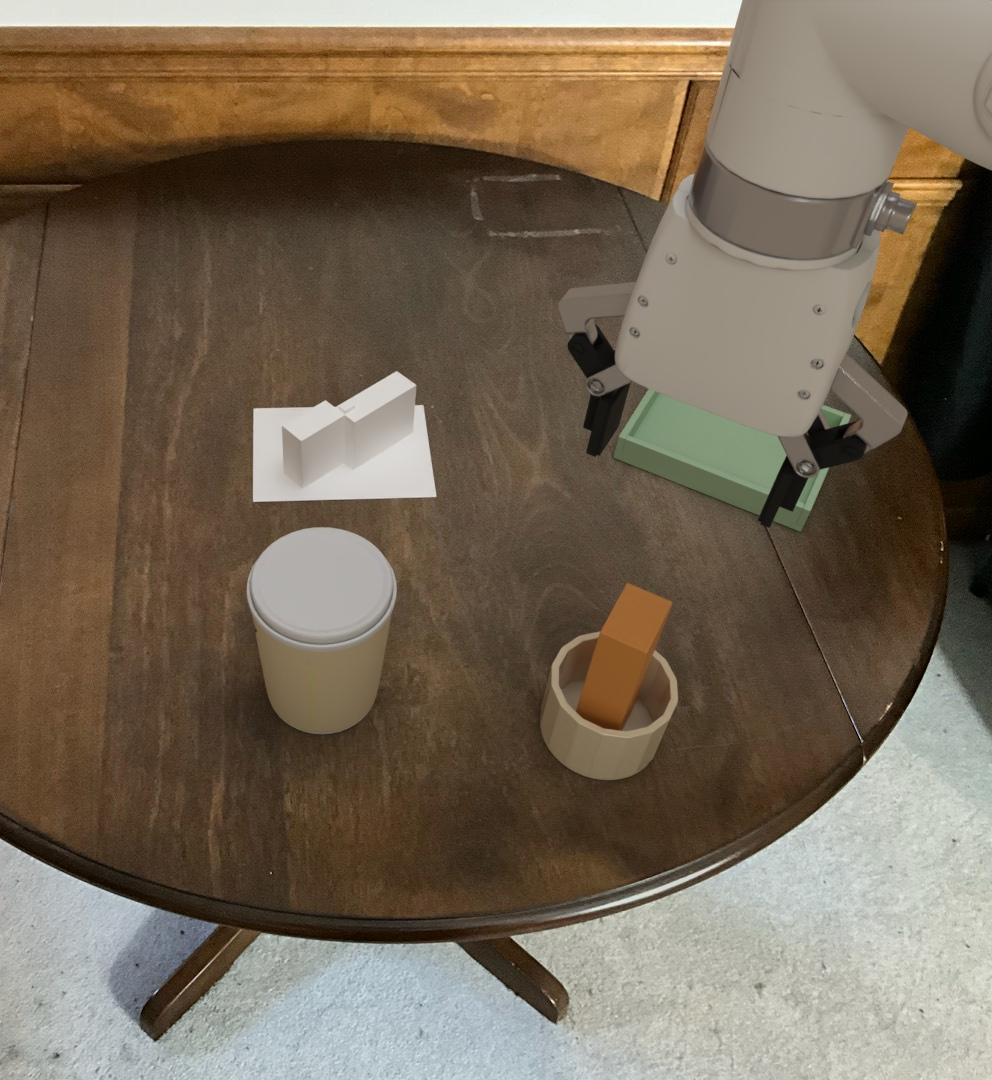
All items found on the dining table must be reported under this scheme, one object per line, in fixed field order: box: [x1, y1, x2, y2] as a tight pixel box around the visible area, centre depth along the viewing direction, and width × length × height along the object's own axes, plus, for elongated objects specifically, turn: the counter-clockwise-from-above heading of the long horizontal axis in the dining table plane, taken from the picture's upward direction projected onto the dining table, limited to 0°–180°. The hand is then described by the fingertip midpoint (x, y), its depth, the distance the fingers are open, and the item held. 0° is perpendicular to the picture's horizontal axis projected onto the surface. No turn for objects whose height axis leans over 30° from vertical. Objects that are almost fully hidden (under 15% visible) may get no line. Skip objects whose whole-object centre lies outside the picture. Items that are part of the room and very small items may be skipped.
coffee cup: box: [246, 526, 398, 735], centre depth 73 cm, size 9×9×12 cm
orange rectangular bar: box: [576, 582, 674, 731], centre depth 72 cm, size 3×4×12 cm, turn 150°
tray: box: [612, 388, 852, 533], centre depth 95 cm, size 16×13×2 cm
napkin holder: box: [252, 370, 437, 503], centre depth 91 cm, size 15×11×6 cm
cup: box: [539, 630, 679, 781], centre depth 74 cm, size 8×8×6 cm
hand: (684, 474), depth 60 cm, fingers open, 9 cm apart
